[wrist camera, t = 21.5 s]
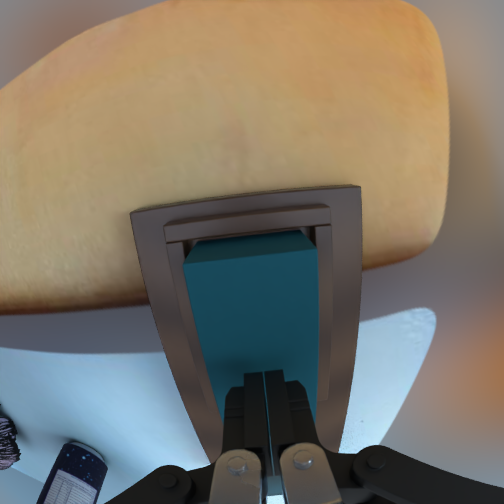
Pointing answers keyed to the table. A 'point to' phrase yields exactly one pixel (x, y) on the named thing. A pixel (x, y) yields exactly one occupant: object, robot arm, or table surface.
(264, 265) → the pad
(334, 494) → the robot arm
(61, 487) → the beverage can
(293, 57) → the table surface
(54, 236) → the table surface
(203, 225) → the brown flat rectangular board
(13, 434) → the decorative flower
